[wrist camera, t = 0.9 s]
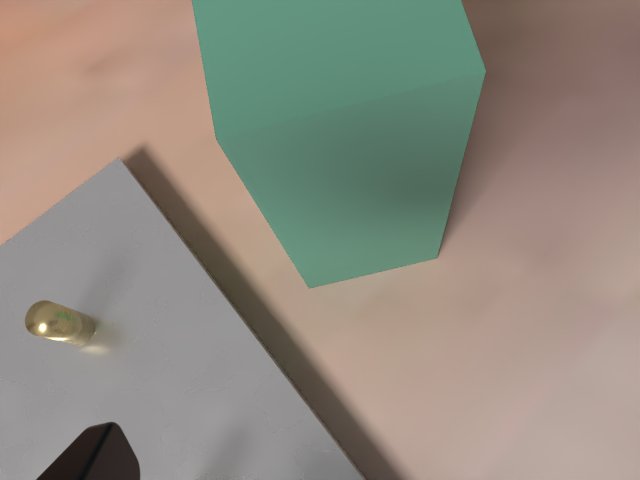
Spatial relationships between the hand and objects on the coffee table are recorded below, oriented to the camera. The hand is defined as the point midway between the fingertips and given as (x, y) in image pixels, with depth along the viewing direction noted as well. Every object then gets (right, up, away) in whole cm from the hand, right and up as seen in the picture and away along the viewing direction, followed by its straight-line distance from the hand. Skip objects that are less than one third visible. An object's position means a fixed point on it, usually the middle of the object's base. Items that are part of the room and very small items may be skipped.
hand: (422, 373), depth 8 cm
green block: (0, +3, +15) cm, 15 cm away
